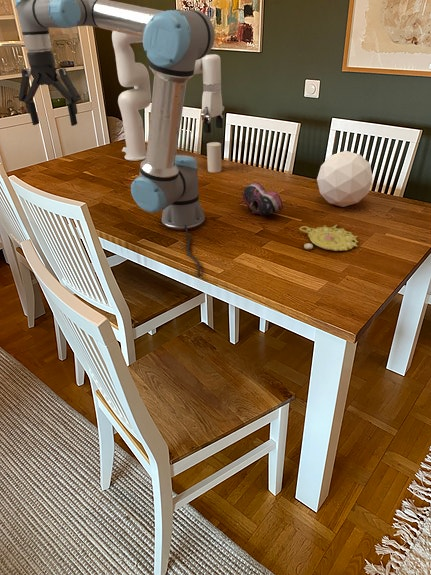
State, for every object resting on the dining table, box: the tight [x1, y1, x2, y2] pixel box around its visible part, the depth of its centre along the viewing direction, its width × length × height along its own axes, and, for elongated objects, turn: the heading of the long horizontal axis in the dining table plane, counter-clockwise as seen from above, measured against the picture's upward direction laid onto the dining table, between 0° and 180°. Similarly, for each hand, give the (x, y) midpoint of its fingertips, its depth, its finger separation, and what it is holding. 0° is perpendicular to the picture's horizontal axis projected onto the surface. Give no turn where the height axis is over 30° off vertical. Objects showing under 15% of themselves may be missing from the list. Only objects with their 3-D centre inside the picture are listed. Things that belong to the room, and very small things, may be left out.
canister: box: [206, 141, 222, 174], centre depth 201 cm, size 6×6×12 cm
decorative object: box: [299, 224, 359, 252], centre depth 141 cm, size 21×2×20 cm
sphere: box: [316, 150, 374, 208], centre depth 161 cm, size 19×20×20 cm
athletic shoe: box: [238, 182, 284, 217], centre depth 160 cm, size 11×22×12 cm
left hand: (213, 130), depth 194 cm, fingers open, 9 cm apart
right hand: (55, 124), depth 144 cm, fingers open, 13 cm apart
